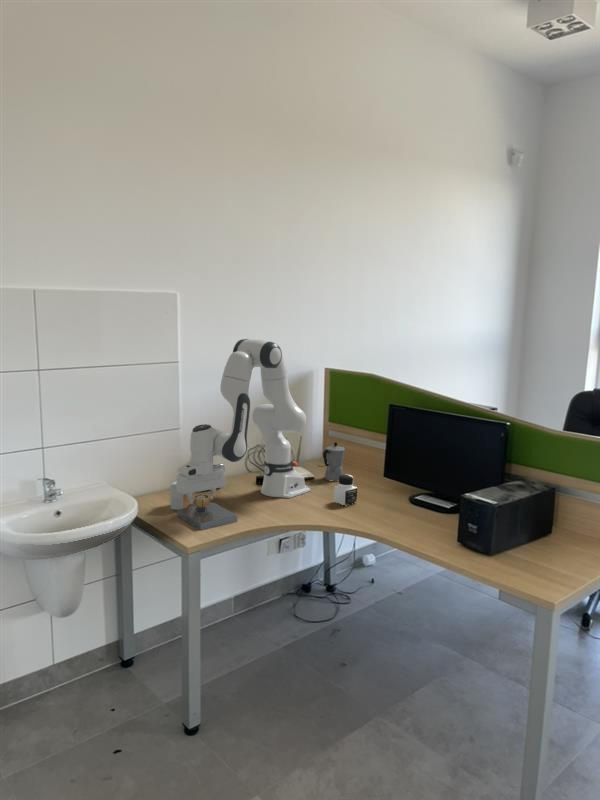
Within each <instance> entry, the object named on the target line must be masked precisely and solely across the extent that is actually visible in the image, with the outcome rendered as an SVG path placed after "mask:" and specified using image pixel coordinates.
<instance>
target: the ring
mask: <svg viewBox="0 0 600 800" xmlns="http://www.w3.org/2000/svg"><path fill="white" fill-rule="evenodd" d="M200 495H203V496H206V498H203V499H201V498H197V496H200ZM192 498H194V499H195V503H193V504H191V505H192V506H196V507H205V506H209V505H210V504H211V503H212V502H211V501H212V500H211V496H210V494H208V493H198V494H194V495H192Z"/></svg>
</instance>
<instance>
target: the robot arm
mask: <svg viewBox="0 0 600 800" xmlns="http://www.w3.org/2000/svg"><path fill="white" fill-rule="evenodd" d="M254 368H260V380H261V386H262V394H263V396H264V397H265V398H266V399H267V400H268V401H269V402H270V403H263V404H262V403H261V404H258V405H256V406H255V408H254V409H253V411H252V415H251V418H252V422H253V424H254V425H256V427H257V428H258V429H259V431H260V433H261V435H262V439H263V440H264V452H265V453H264V461H263V474H264V475H263V481H262V486H261V489H260V493H261V494H262V495H264V496H266V497H271V498H272V497H273V498H283V499H286V498H287V499H291V498H293V497H297V496H300V495H303V494H305V493H308V492H310V491H311V488H310V487H309V486H307V485H306V483H305V481H306V480H305V477H304V476H303V475H302V474H300V473H299V472H298V471H296V470H295V469H294V467H295V468H296V467H298V465H299V464H298V462H296V461H291V451H292V449H291V448H292V447H291V446H292V445H291V443H290V441H289V440H287V439H286V438H285V436H284V435H283V432H284V433H291V434H292V433H300V432H302V431H303V430H305V429H304V428H305V427H306V424H307V416H306V413H305V411H304V410H302V409H301V408H300V406H298V405H297V403H296V402H295V401H294V399H293V397H292V395H291V392H290V387H289V380H288V372H287V365H286V361H285V358H284V355H283V351H282V349H281V347H280V345H279V344H277V343H275V342H273V341H267V340H263V339H248V338H243V339H239V340H238V341H237V342H236V343H235V344H234V347H233V350H232V353H231V354H230V355H229V357H228V359H227V362H226V364H225V366H224V369H223V373H222V377H221V380H220V393H221V395H222V396H223V397H222V398H224V399H225V400H226V401H227V402H228V403H229V405H230V406H231V407H232V411H233V416H232V424H231V430H230V431H231V432H226V431H222V430H219V429H216V428H215V427H213V426H212V425H210V424H198V425H196V426H194V427H193V428H192V431H191V433H190V442H189V443H190V444H189V450H190V452H191V453H190V457H189V462H187V463H185V464H183V465H181V466H179V467H178V468H177V472H178V473H179V474H178V475H177V477H176V480H177V482H176V491H177V492H178V493H179V494H181V495H184V494H187V496H188V497H189V499H190V505H192V504H193V503H195V499H194V498H192V497H193V496H194V495H193V494H195V493H199V492H203V491H208V490H209V491H210V492H209V495H210V496H211V501H213V500H214V495H215V493H216V492H217V489H220V488H221V489H222V488H224V487H226V484H227V483H226V481H227V480H226V466H225V465H224V464H221V463H219V464H218V463H217V464H214V457H215V456H217V457H220V458H223V459H226V460H227V461H229V462H232V463H236V462H240V460H242V459H243V458H244V457H245V455H246V454H247V452H248V429H249V428H248V427H249V420H250V411H251V399H250V396H249V392H250V391H249V389H250V382H251V379H252V372H253V370H254Z"/></svg>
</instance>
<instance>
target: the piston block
mask: <svg viewBox="0 0 600 800" xmlns="http://www.w3.org/2000/svg"><path fill="white" fill-rule="evenodd" d="M197 498H201V499H203V498H206V496H203V495H200V496H197ZM176 513H177V514H176V516H177V517H179V518H180V519H182V520H183V521H185V522H186V523H188V524H190V525H191V526H193V527H195V528H196V529H197V530H200V531H203V530H207V529H212V528H215V527H220V526H223V525H229V524H232V523H237V522H238V517H239V515H238V514H236V513H234V512H233V511H230V509H229V510H228V509H226V508H225V507H223V506H221V505H219V504H218V503H215V502H214V501H213V502H211V504H210V505H209V506H205V507H196V506H194V505H192V506H188V507H187V508H183V509H178V510H176Z"/></svg>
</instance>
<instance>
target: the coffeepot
mask: <svg viewBox="0 0 600 800" xmlns="http://www.w3.org/2000/svg"><path fill="white" fill-rule="evenodd" d="M333 444H334V445H331V446H330V445H329V446H327V447H326V448H325V449H324V450H323V453H322V456H323V461H324V466H325V467H326V470H325V474H324V479H325V478H326V479H327V480H326V479H325V480H326V481H328V480H333V481H332V482H338V481H337V480H339V476H340V475H344V470H343V465H342V463H343V462H344V457H345V451H346V448H345V446H338V442H333Z"/></svg>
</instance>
